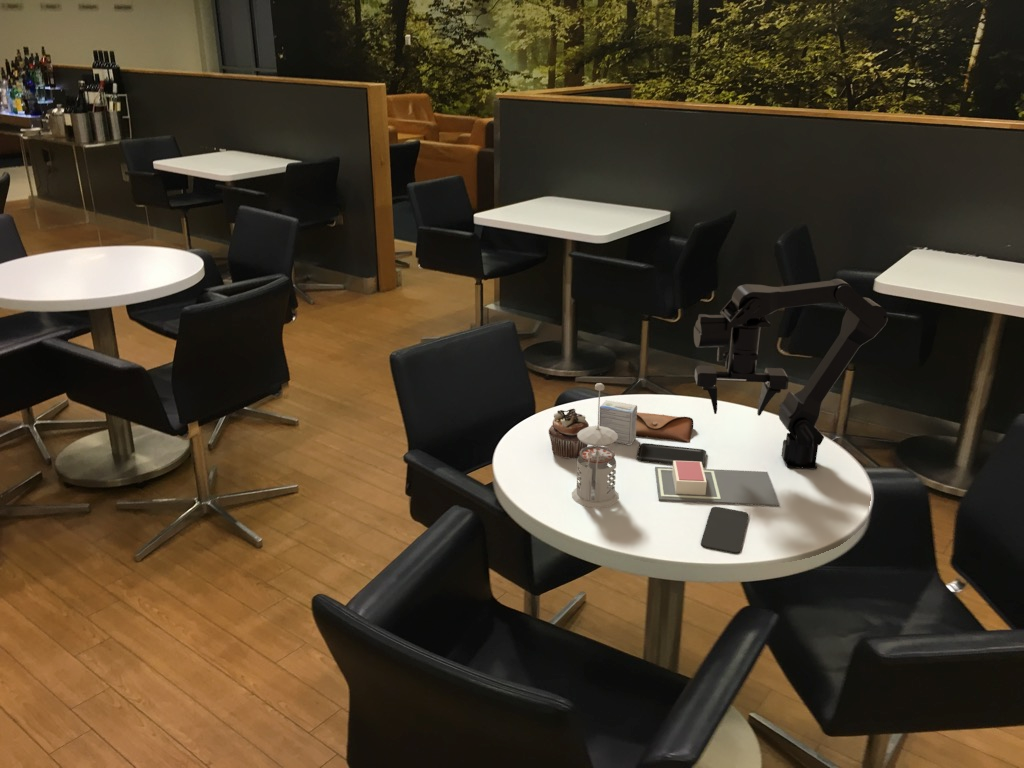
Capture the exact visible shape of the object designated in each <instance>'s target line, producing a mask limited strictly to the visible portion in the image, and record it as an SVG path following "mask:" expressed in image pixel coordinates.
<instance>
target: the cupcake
mask: <svg viewBox="0 0 1024 768" xmlns="http://www.w3.org/2000/svg"><path fill="white" fill-rule="evenodd" d="M586 418H587V417H586V416H585V415H584V414H581V413H577V412H576V408H570V409H568V410H557V412H555V413H554V414H553V420H552V424H551V426H550V427H549V429H548V435H549V439H550V444H551V451H552V453H553V454H555V455H557V456H558V457H561V458H565V459H566V458H567V459H575V458H578V457H579V456H580V455H579V452H580V451H581V449H583V448H585V447H589V445H587V444H585V443H583V442H581V441H580V440H579V439H578V436H577V434H578V432H579V431H580V430H582V429H585V428H587V427H590V426H589V423H588V421H587V420H586Z"/></svg>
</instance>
